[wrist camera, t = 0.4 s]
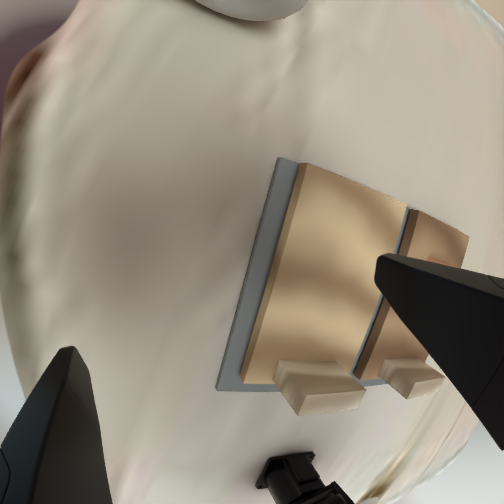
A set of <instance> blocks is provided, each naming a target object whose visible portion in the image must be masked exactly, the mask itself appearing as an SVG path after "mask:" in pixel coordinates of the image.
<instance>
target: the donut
mask: <svg viewBox="0 0 504 504" xmlns="http://www.w3.org/2000/svg"><path fill="white" fill-rule="evenodd" d="M195 1H197V2H198V3H200V4H202V5H204V6H206V7H208V8H210V9H212V10H214V11H216V12H219V13H222V14H224V15H227V16H230V17H234V18H239V19H243V20H248V21H271V20H277V19H284V18H286V17H288V16H290V15H292V14H293V13H295V12H297V11H299V10H301V9H302V8H303V7H304V5H305V4H306V3H307V1H308V0H195Z"/></svg>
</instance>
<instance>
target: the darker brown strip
mask: <svg viewBox="0 0 504 504" xmlns="http://www.w3.org/2000/svg"><path fill="white" fill-rule="evenodd" d="M468 241H469V236H468V235H466V234H464V233H462V232H460V231H458V230H456V229H455V228H453V227H451V226H449V225H447V224H445V223H443V222H441V221H439V220H437V219H435V218H433V217H431V216H429V215H427V214H425V213H423V212H421V211H418V210H413V209H411V210H410V214H409V218H408V221H407V225H406V229H405V233H404V236H403V240H402V243H401V247H400V250H399V253H398V255H403V256H407V257H412V258H416V259H421V260H425V261H427V260H428V258H431V259H434V260H437V261H440V262H443V263H446V264H448V265H451V266H454V267H457V268H460V269H461V266H462V262H463V259H464V255H465V252H466V248H467V244H468ZM428 354H429V353H428V352H427V351H426V350H425V348H424V347H423V346H422V345H421V344H420V342H419V341H418V340H417V339H416V338H415V336H414V335H413V334H412V333H411V332H410V330H409V329H408V328H407V327H406V326H405V325H404V323H403V322H402V321H401V320H400V318H399V317H398V316H397V314H396V313H395V311H394V310H393V309H392V307H391V306H390V304H389V303H388V302H387V300H386V299H385V297H384V299H383V302H382V305H381V308H380V311H379V313H378V316H377V319H376V321H375V324H374V326H373V329H372V332H371V334H370V337H369V339H368V342H367V344H366V347H365V349H364V351H363V354H362V356H361V358H360V361H359V363H358V365H357V368H356V370H355V372H354V374H353V375H354V376H355V377H356V378H358V379H359V380H370V379H380V378H382V379H383V380H384V381H385V382H386V383H388V384H389V385H390V386H391V387H392V388H394V389H395V390H396V391H397V392H398V393H400V394H401V395H402V396H403V397H404V398H406V399H411V398H415V397H419V396H424V395H428V394H431V393H435V392H438V390H439V388H440V386H441V384H442V382H443V380H444V378H445V376H443V375H442V374H440V373H439V372H437V371H436V370H434V369H433V368H432V367H430V366H429V365H427V364H426V363H425V361H426V359H427V357H428Z"/></svg>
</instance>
